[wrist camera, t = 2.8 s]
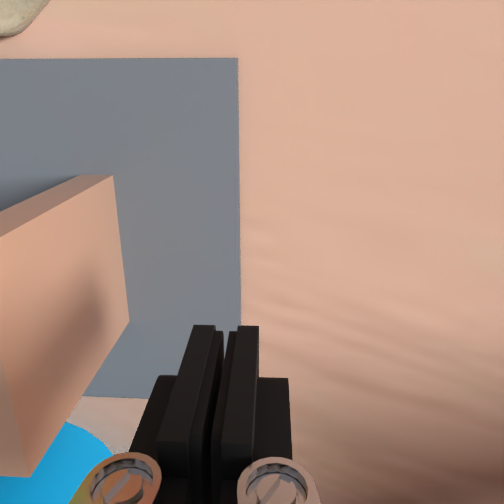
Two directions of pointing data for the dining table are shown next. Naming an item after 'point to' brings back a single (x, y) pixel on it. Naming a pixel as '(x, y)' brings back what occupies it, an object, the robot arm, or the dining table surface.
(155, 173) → the mat
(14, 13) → the wooden puzzle
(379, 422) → the dining table surface
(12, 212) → the tile
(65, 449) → the mug
